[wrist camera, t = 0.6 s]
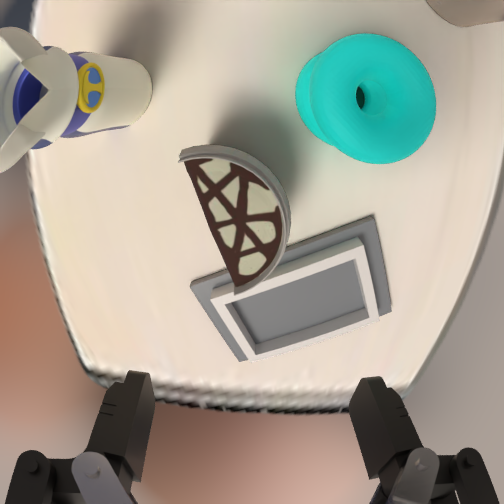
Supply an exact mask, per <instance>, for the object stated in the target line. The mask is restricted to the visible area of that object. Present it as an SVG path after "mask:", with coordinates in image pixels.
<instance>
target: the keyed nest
mask: <svg viewBox="0 0 504 504" xmlns="http://www.w3.org/2000/svg"><path fill="white" fill-rule="evenodd" d="M190 288H191V290H192V291H193V293H194V294H195V296H196V298H197V299H198V301H199V302H200V304H201V305H202V307H203V309H204V310H205V312H206V313H207V315H208V316H209V318H210V319H211V321H212V322H213V324H214V325H215V327H216V328H217V330H218V331H219V333H220V334H221V336H222V337H223V339H224V340H225V342H226V343H227V345H228V346H229V348H230V349H231V350H232V352H233V353H234V355H235V356H236V358H237V359H238V361H239V362H241V361H245V360H249V361H250V363H253V362H257V361H260V360H264V359H267V358H271V357H275V356H278V355H281V354H285V353H288V352H291V351H295V350H298V349H301V348H304V347H308V346H311V345H314V344H317V343H320V342H323V341H326V340H329V339H332V338H335V337H338V336H340V335H343V334H346V333H349V332H352V331H354V330H357V329H360V328H362V327H365V326H368V325H370V324H373V323H375V322H378V321H380V320H379V316H382V315H384V314H387V313H389V312H392V310H391V303H390V297H389V290H388V284H387V279H386V273H385V268H384V262H383V257H382V252H381V248H380V243H379V238H378V234H377V229H376V225H375V221H374V218H373V217H372V216H369V217H366V218H364V219H361V220H358V221H356V222H353V223H350V224H348V225H345V226H342V227H340V228H337V229H334V230H331V231H329V232H326V233H323V234H321V235H318V236H315V237H313V238H310V239H307V240H305V241H302V242H299V243H296V244H294V245H291V246H288V247H286V248H285V251H284V254H283V256H282V258H281V260H280V261H279V263H278V265H277V266H276V267H275V269H274V270H273V271H272V272H271V273H270V275H269V276H268V277H267V278H265V279H264V280H263V281H262V282H261V283H260V284H258V285H257V286H255V287H254V288H252V289H250V290H248V291H246V292H244V293H242V294H239V295H236V296H234V283H233V281H232V278H231V276H230V274H229V271H228V269H226V270H223V271H220V272H217V273H215V274H212V275H209V276H206V277H204V278H201V279H198V280H195V281H193V282H191V284H190Z"/></svg>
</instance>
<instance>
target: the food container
mask: <svg viewBox="0 0 504 504" xmlns="http://www.w3.org/2000/svg"><path fill="white" fill-rule="evenodd" d="M179 158H180V160H179V161H178V163H179V162H183V161H184V163H185V166H186V169H187V172H188V174H189V176H190V178H191V180H192V183H193V185H194V188H195V191H196V193H197V196H198V198H199V201H200V204H201V206H202V209H203V212H204V214H205V217H206V220H207V223H208V225H209V228H210V231H211V233H212V235H213V237H214V240H215V242H216V244H217V246H218V248H219V250H220V253H221V255H222V257H223V259H224V262H225V264H226V267H227V269H228V271H229V274H230V276H231V278H232V281H233V283H234V296H236V295H239V294H242V293H244V292H246V291H248V290H250V289H252V288H254V287H255V286H257V285H258V284H260V283H261V282H262V281H263V280H264V279H265V278H267V277H268V276H269V275H270V273H271V272H272V271H273V270H274V269H275V267H276V266H277V265H278V263H279V261H280V260H281V258H282V256H283V254H284V251H285V248H286V245H287V242H288V238H289V233H290V226H291V212H290V207H289V202H288V199H287V196H286V194H285V191H284V189H283V187H282V185H281V184H280V182H279V181H278V179H277V177H276V176H275V175H274V174H273V173H272V172H271V171H270V169H269V168H268V167H266V166H265V165H264V164H263V163H262V162H260V161H259V160H258V159H256V158H254V157H253V156H251V155H249V154H248V153H246V152H243V151H240V150H238V149H235V148H231V147H226V146H222V145H200V146H193V147H190V148H186V149H183V150H182V151H181V153H180V155H179Z"/></svg>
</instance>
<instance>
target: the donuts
mask: <svg viewBox="0 0 504 504" xmlns="http://www.w3.org/2000/svg"><path fill="white" fill-rule="evenodd" d="M358 86H359V87H360V88H361V89H362V91H363V93H364V97H365V102H364V105H363V108H362V109H360V108H359V106H358V104H357V101H356V90H357V88H358ZM295 98H296V105H297V109H298V112H299V114H300V116H301V118H302V120H303V122H304V124H305V125H306V126H307V128H308V129H309V130H310V131H311V132H312V133H313V134H314V135H315V136H316V137H318V138H319V139H321V140H322V141H324V142H326V143H328V144H330V145H332V146H335V147H336V148H337V149H339V150H340V151H341V152H343V153H344V154H346V155H348V156H350V157H352V158H354V159H356V160H359V161H362V162H366V163H372V164H387V163H393V162H397V161H400V160H402V159H404V158H406V157H408V156H410V155H411V154H413V153H414V152H415V151H416V150H418V149H419V148H420V147H421V145H422V144H423V143H424V142H425V140H426V139H427V137H428V136H429V134H430V132H431V129H432V127H433V124H434V120H435V115H436V97H435V91H434V87H433V84H432V81H431V78H430V76H429V74H428V72H427V70H426V69H425V67H424V66H423V64H422V63H421V61H420V60H419V59H418V58H417V57H416V56H415V55H414V54H413V53H412V52H411V51H410V50H409V49H408V48H406V47H405V46H404V45H402V44H400V43H399V42H397V41H395V40H393V39H391V38H388V37H385V36H382V35H377V34H367V33H362V34H354V35H350V36H347V37H344V38H342V39H339V40H338V41H336V42H334V43H333V44H331V45H330V46H329V47H328V48H327V49H326V50H325V51H324V52H322V53H320V54H318V55H316V56H315V57H313V58H312V59H311V60H310V61H309V62H308V63H307V64H306V65H305V66H304V68H303V69H302V71H301V73H300V75H299V77H298V80H297V84H296V91H295Z"/></svg>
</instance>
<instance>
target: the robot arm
mask: <svg viewBox="0 0 504 504" xmlns="http://www.w3.org/2000/svg"><path fill="white" fill-rule="evenodd" d="M426 1H427V2H428V4H429V5H430V6H431V7H432V9H433V10H434V11H435V12H436V13H437V14H438V15H440V16H441V17H442V18H443V19H445V20H446V21H448V22H449V23H451V24H454V25H456V26H460V27H469V26H474V25H479V24H485V23H493V22H500V21H504V0H426ZM154 410H155V396H154V392H153V387H152V383H151V378H150V374H149V373H145V372H138V371H132V370H129V371H128V373H127V375H126V378H125V381H124V383H119V382H115V383H114V384H113V385H112V386H111V387H110V388H109V389H108V390H107V391H106V394H105V396H104V399H103V402H102V405H101V407H100V410H99V414H98V416H97V419H96V422H95V425H94V427H93V430H92V433H91V436H90V440H89V443H88V446H87V448H86V449H85V451H84V452H83V453H81V454H80V455H78V456H77V457H75V458H72V459H47V458H46V457H45V456H44V455H43V454H42V453H41V452H38V451H35V450H29V451H25V452H23V453H22V454H21V455H20V456H19V458H18V460H17V463H16V466H15V469H14V472H13V475H12V479H11V483H10V486H9V490H8V494H7V497H6V502H5V504H138V502H137V501H136V499H135V498H134V496H133V495H132V493H131V491H130V490H131V484H132V481H136V482H141V477H142V472H143V466H144V461H145V455H146V450H147V444H148V440H149V435H150V429H151V425H152V420H153V415H154ZM349 414H350V417H351V421H352V423H353V427H354V430H355V433H356V437H357V440H358V443H359V446H360V449H361V453H362V456H363V460H364V463H365V466H366V469H367V473H368V476H369V479H374V478H378V477H379V479H380V483H379V485H378V487H377V489H376V491H375V493H374V495H373V497H372V499H371V501H370V503H369V504H459V503H458V500H457V497H456V494H455V490H456V491H457V494H458V498H459V501H460V504H499V501H498V498H497V495H496V493H495V490H494V487H493V484H492V482H491V479H490V476H489V474H488V471H487V469H486V467H485V464H484V462H483V459H482V457H481V455H480V453H479V452H478V451H477V450H475V449H473V448H464V449H462V450H461V451H460V452H459V453H458V454H457V455H436V453H435V452H434V451H432V450H431V449H429V448H424V447H423V445H422V443H421V441H420V439H419V436H418V434H417V432H416V430H415V427H414V425H413V423H412V421H411V418H410V416H408V412H407V410H406V408H405V406H404V403H403V401H402V399H401V397H400V395H398V394H397V393H396V392H395V391H394V390H393V389H392V388H387V387H386V385H385V382H384V380H383V379H382V377H380V376H377V377H367V378H362V379H361V380H360V382H359V384H358V386H357V388H356V390H355V392H354V394H353V396H352V398H351V400H350V403H349Z"/></svg>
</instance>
